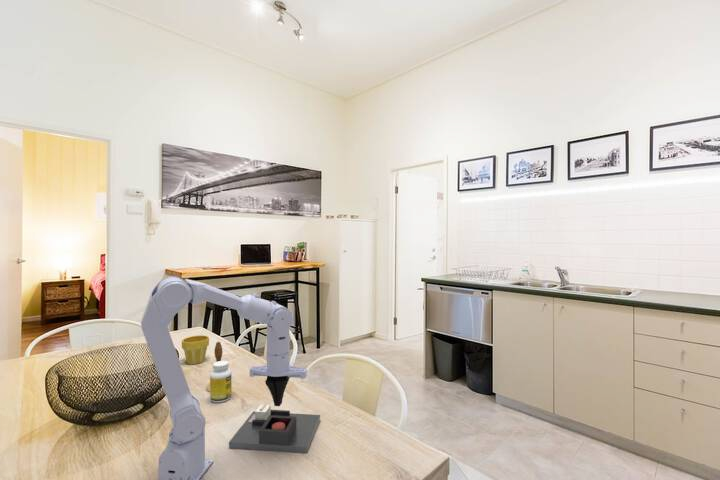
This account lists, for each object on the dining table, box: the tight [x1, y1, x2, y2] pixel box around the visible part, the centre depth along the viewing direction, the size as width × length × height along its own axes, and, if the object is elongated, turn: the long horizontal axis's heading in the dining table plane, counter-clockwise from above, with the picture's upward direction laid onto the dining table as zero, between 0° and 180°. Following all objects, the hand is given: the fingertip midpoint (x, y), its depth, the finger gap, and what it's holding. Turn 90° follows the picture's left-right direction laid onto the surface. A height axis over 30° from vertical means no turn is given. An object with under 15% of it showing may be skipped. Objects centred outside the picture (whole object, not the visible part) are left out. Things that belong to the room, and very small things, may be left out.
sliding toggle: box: [255, 402, 272, 420], centre depth 96 cm, size 4×3×4 cm
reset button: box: [272, 422, 285, 430], centre depth 89 cm, size 3×3×3 cm
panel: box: [228, 409, 321, 454], centre depth 92 cm, size 15×20×5 cm
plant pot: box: [181, 334, 210, 365], centre depth 144 cm, size 10×10×10 cm
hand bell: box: [205, 341, 223, 393], centre depth 120 cm, size 8×8×16 cm
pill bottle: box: [209, 360, 233, 403], centre depth 112 cm, size 6×6×12 cm
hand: (278, 404), depth 88 cm, fingers closed
